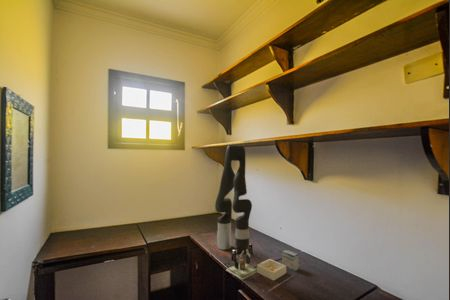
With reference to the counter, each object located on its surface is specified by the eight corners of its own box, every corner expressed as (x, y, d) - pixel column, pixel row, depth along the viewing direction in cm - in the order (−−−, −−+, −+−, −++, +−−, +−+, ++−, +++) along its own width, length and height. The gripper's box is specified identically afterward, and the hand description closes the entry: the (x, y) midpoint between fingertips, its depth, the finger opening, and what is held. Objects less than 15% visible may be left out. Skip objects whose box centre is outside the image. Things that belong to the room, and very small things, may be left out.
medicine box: (281, 266, 131) (281, 251, 131) (286, 264, 134) (286, 249, 135) (294, 271, 126) (294, 255, 126) (298, 269, 129) (298, 253, 129)
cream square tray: (256, 273, 124) (256, 264, 124) (269, 266, 132) (269, 258, 132) (273, 281, 116) (273, 272, 116) (286, 274, 123) (286, 265, 123)
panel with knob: (225, 270, 127) (225, 269, 127) (242, 263, 135) (242, 262, 135) (242, 280, 117) (242, 279, 117) (259, 272, 126) (259, 270, 126)
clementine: (267, 272, 124) (267, 266, 124) (271, 270, 126) (271, 264, 126) (272, 274, 122) (272, 268, 122) (275, 272, 124) (275, 266, 124)
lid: (228, 269, 127) (228, 259, 127) (242, 263, 134) (242, 254, 134) (242, 278, 118) (242, 267, 119) (256, 270, 126) (256, 260, 126)
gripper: (246, 231, 134) (246, 259, 134) (227, 237, 125) (228, 267, 124) (256, 234, 128) (256, 264, 128) (237, 241, 119) (237, 273, 119)
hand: (242, 266), depth 126 cm, fingers open, 8 cm apart
